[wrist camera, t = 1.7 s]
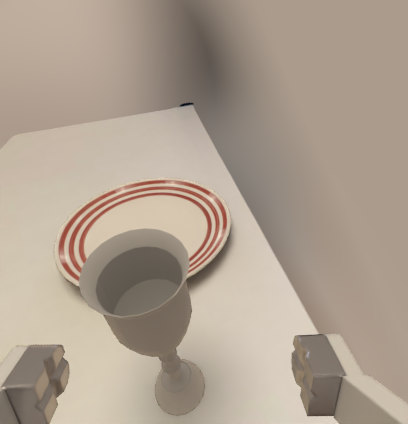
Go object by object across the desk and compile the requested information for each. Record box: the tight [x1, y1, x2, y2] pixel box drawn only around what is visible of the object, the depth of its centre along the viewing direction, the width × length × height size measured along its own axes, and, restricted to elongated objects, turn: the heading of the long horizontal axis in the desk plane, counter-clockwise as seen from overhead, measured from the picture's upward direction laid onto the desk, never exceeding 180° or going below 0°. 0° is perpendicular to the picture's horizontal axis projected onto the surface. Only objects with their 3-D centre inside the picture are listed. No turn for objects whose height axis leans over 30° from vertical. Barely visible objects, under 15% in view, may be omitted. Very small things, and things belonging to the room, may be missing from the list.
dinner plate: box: [54, 178, 231, 287], centre depth 47 cm, size 27×27×3 cm
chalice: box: [79, 228, 205, 415], centre depth 23 cm, size 7×7×18 cm
